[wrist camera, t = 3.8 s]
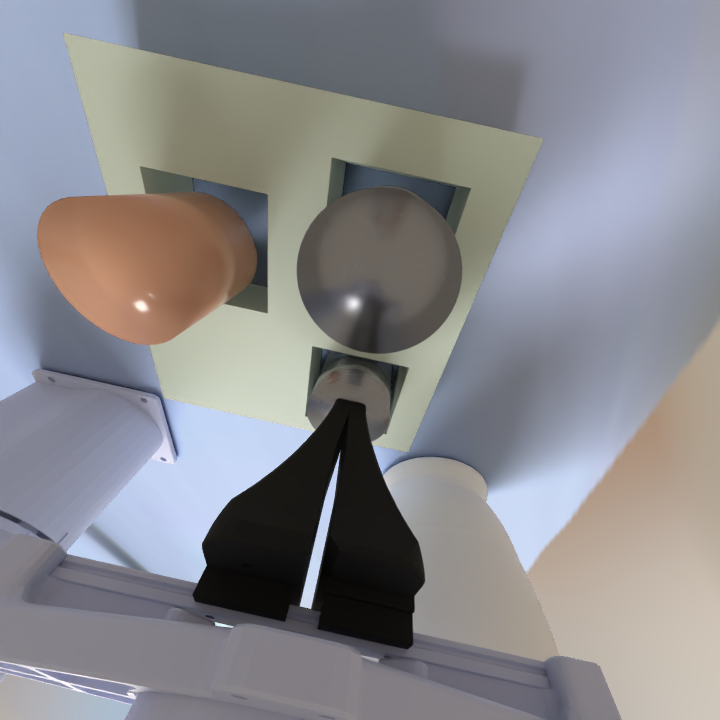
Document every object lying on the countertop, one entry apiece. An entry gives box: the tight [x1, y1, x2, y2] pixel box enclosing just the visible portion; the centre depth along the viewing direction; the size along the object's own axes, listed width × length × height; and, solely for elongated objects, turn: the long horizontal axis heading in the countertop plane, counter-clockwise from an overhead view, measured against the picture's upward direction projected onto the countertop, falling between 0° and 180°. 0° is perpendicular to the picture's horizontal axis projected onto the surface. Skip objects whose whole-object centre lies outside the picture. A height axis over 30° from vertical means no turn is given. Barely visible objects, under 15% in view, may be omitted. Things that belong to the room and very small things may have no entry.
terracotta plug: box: [37, 192, 257, 345], centre depth 10 cm, size 4×4×4 cm
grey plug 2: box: [307, 350, 392, 442], centre depth 15 cm, size 4×4×4 cm
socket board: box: [63, 33, 544, 452], centre depth 14 cm, size 15×15×3 cm
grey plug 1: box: [297, 186, 462, 354], centre depth 9 cm, size 4×4×4 cm
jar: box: [361, 457, 559, 662], centre depth 17 cm, size 11×10×15 cm
